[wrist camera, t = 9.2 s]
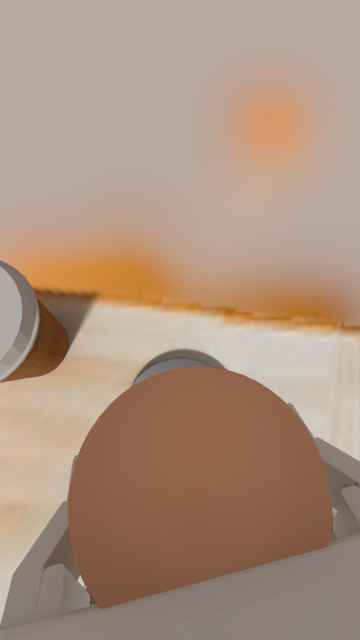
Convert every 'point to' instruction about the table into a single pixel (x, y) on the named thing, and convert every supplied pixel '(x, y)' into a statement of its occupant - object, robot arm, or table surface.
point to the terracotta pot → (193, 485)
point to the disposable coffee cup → (26, 330)
